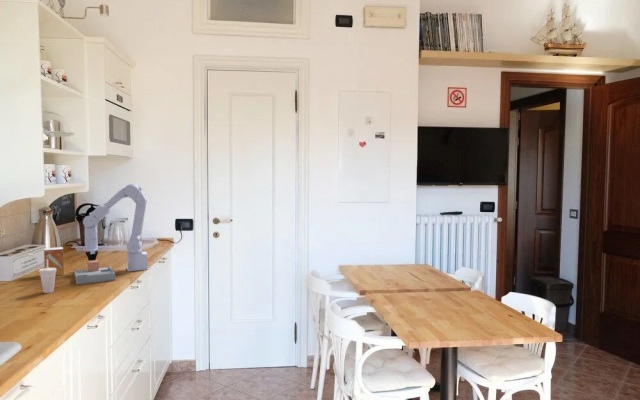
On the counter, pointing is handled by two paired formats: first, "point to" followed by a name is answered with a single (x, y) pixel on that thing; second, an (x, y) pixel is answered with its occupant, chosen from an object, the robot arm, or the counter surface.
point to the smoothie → (48, 278)
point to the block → (93, 266)
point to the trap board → (94, 275)
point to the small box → (54, 259)
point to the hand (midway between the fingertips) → (92, 265)
